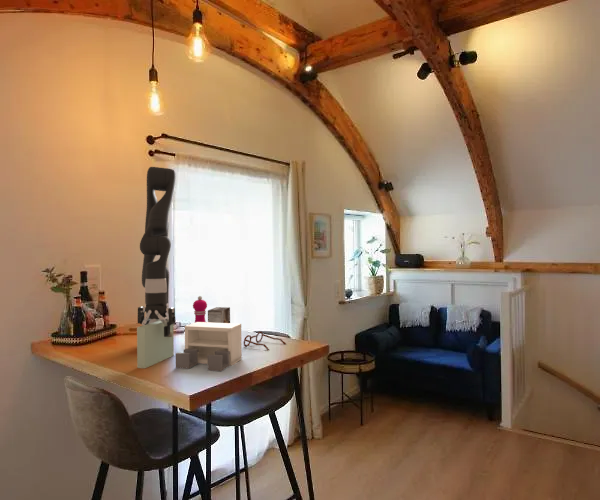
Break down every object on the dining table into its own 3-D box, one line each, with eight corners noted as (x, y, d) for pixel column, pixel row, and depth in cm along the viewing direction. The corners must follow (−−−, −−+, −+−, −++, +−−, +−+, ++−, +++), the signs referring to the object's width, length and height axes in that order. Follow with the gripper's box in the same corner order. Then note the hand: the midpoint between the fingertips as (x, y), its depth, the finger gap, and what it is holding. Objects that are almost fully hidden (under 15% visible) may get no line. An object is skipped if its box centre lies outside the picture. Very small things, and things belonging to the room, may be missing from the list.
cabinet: (174, 367, 147) (174, 329, 147) (197, 356, 162) (197, 321, 162) (222, 371, 142) (222, 332, 142) (241, 359, 158) (241, 323, 158)
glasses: (261, 341, 188) (261, 330, 188) (286, 345, 182) (286, 333, 182) (242, 348, 177) (242, 336, 177) (269, 351, 170) (268, 339, 170)
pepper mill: (188, 342, 185) (187, 296, 185) (198, 339, 192) (197, 294, 192) (202, 344, 183) (202, 297, 183) (212, 340, 189) (211, 295, 189)
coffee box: (216, 344, 181) (216, 306, 181) (230, 345, 180) (230, 307, 180) (207, 349, 172) (207, 310, 172) (222, 350, 171) (222, 310, 171)
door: (149, 368, 146) (148, 327, 146) (137, 367, 147) (137, 327, 147) (177, 355, 163) (177, 319, 163) (166, 355, 165) (166, 318, 165)
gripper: (132, 291, 154) (132, 337, 154) (167, 292, 150) (168, 338, 150) (145, 289, 161) (145, 333, 161) (179, 290, 157) (179, 334, 157)
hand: (156, 335), depth 155 cm, fingers open, 8 cm apart
